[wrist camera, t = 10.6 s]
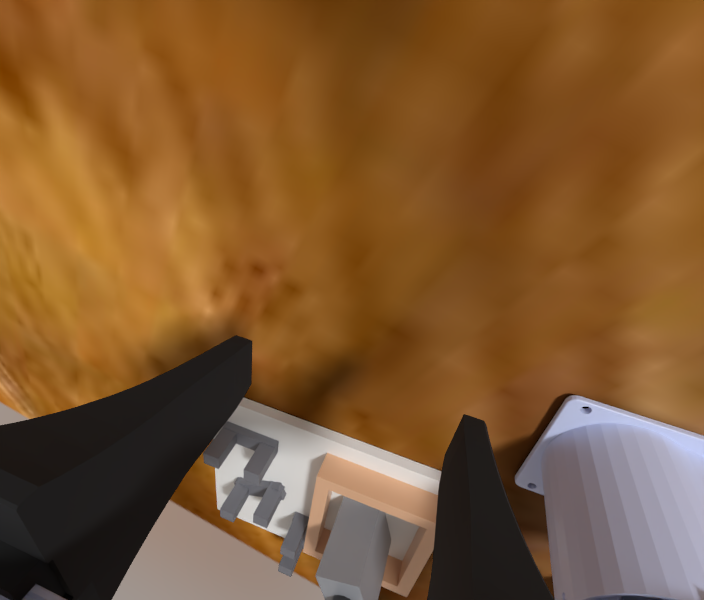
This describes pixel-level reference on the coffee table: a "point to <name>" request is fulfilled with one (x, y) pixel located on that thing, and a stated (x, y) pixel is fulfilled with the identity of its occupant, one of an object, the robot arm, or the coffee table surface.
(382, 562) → the block
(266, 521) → the board
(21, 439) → the robot arm
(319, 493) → the frame
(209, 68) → the coffee table surface
